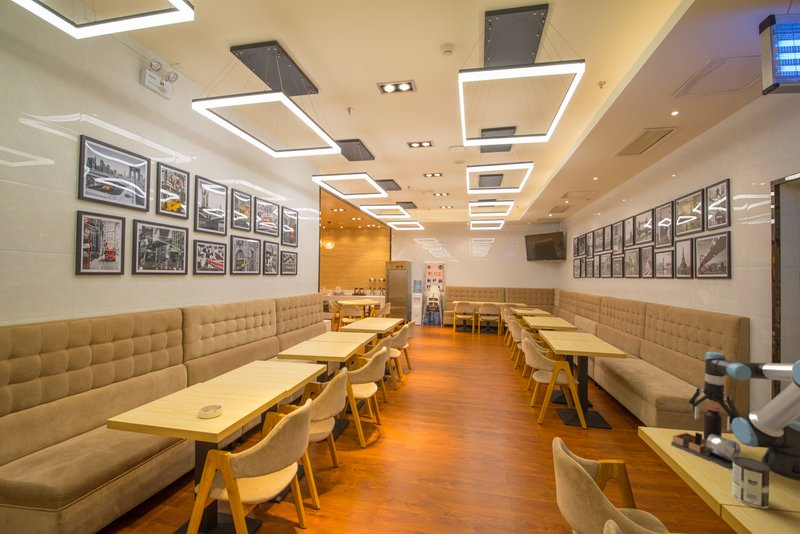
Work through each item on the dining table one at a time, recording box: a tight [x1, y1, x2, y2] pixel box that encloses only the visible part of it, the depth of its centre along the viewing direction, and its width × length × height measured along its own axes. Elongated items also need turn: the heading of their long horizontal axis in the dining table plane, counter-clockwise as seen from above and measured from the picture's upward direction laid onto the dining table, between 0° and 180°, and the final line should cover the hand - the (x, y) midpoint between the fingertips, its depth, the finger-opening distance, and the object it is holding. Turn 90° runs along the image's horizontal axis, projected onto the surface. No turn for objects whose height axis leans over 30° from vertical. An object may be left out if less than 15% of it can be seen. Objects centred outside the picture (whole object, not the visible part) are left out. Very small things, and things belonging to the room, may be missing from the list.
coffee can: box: [731, 456, 771, 510], centre depth 135 cm, size 10×10×14 cm
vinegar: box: [703, 403, 723, 440], centre depth 180 cm, size 7×7×20 cm
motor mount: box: [670, 432, 741, 469], centre depth 170 cm, size 23×13×10 cm, turn 25°
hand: (712, 424), depth 180 cm, fingers open, 13 cm apart
